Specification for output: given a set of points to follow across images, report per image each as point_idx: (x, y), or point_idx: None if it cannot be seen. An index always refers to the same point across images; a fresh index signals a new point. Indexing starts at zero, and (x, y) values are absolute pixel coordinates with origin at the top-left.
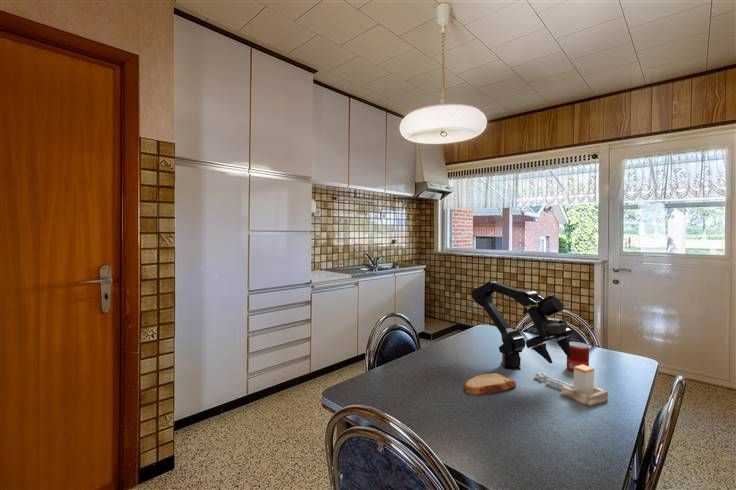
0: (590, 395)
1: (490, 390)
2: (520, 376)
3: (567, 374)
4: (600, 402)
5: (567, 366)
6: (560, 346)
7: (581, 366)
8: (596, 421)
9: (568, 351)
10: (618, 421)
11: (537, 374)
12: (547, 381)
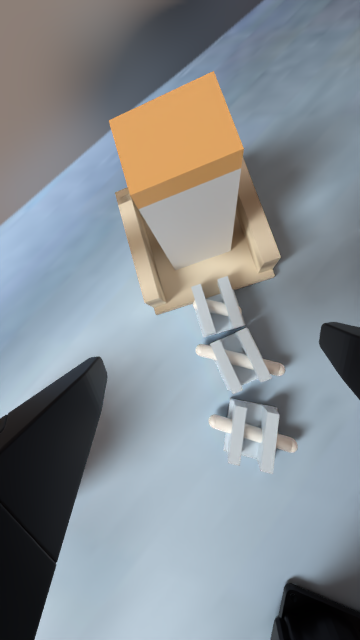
0: None
1: None
2: (346, 494)
3: (91, 448)
4: None
5: None
6: (59, 539)
7: (175, 151)
8: (291, 81)
9: (74, 382)
10: None
11: (273, 453)
12: (272, 366)
